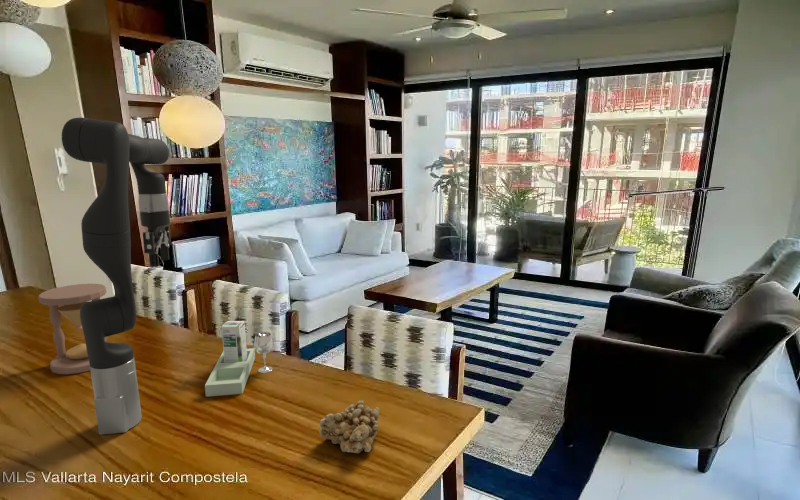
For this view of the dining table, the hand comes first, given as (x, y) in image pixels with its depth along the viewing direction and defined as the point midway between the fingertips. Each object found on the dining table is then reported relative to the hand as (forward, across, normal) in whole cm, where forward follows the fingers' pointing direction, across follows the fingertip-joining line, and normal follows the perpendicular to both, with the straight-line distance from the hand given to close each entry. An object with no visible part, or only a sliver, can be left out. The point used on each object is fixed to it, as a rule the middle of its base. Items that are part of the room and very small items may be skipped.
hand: (160, 263), depth 129 cm
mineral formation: (+36, +42, +55) cm, 79 cm away
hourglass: (+36, -14, -32) cm, 50 cm away
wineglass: (+36, +2, +28) cm, 46 cm away
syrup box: (+36, -2, +19) cm, 41 cm away
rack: (+36, +4, +19) cm, 41 cm away
